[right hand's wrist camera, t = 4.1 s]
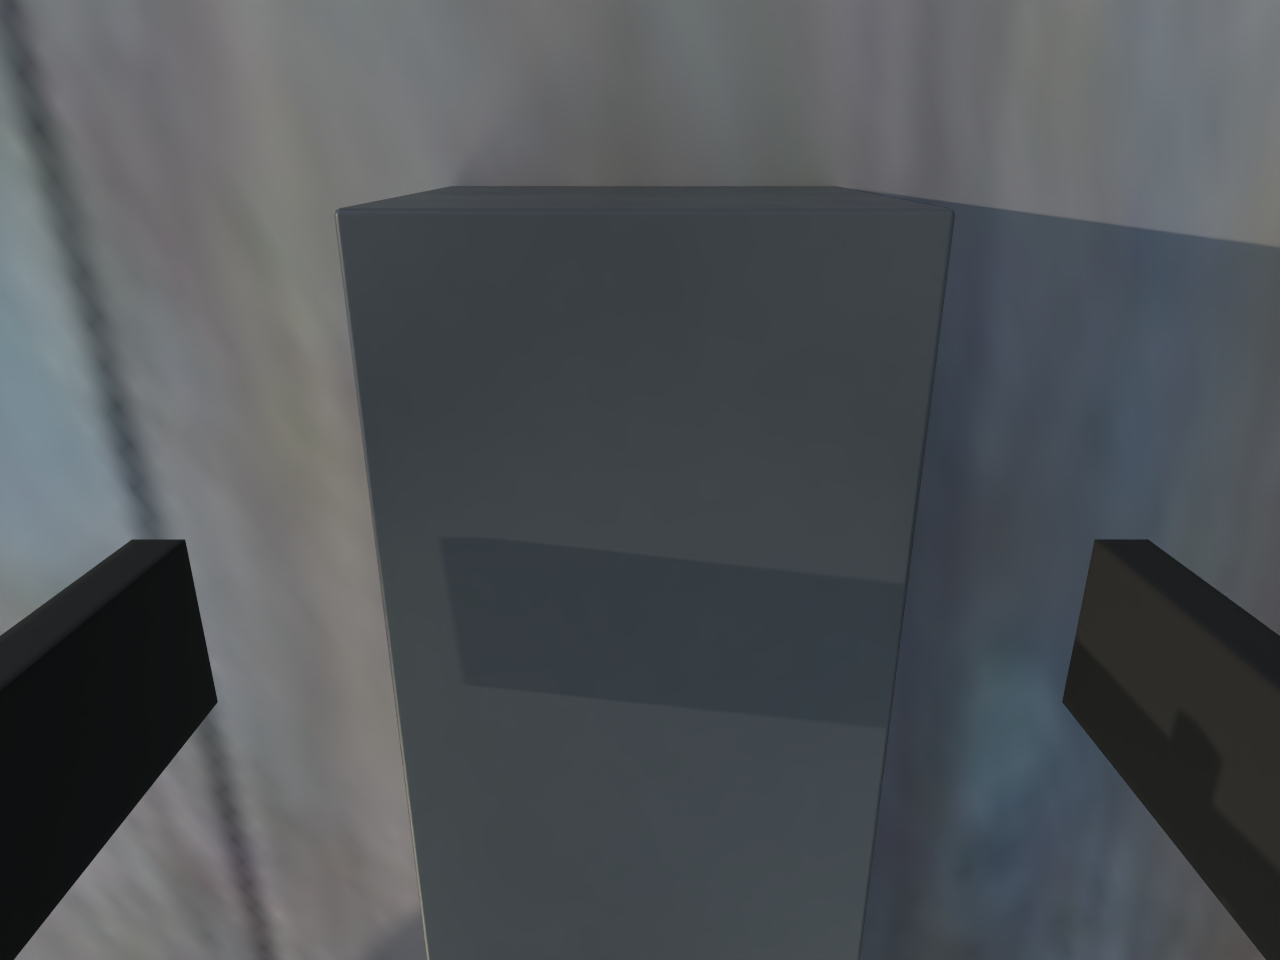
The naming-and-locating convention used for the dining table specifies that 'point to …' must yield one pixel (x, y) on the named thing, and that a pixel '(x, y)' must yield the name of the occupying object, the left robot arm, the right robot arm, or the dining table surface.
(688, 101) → the dining table surface
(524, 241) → the wide beam
